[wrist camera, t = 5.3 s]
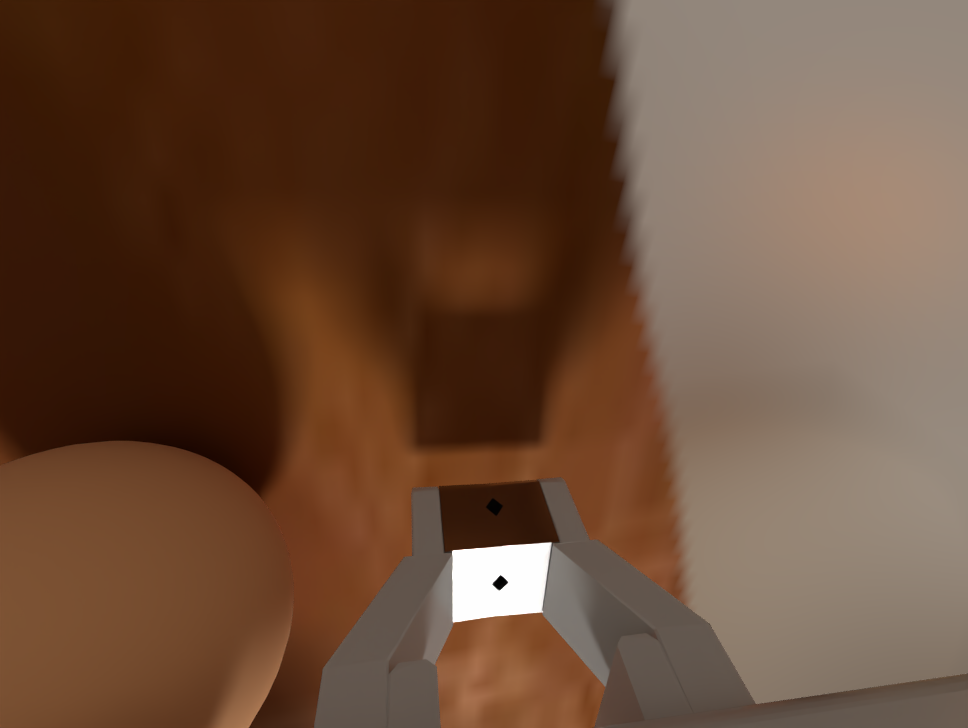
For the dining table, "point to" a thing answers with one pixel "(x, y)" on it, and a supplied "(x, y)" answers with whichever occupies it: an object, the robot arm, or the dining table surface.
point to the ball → (137, 590)
